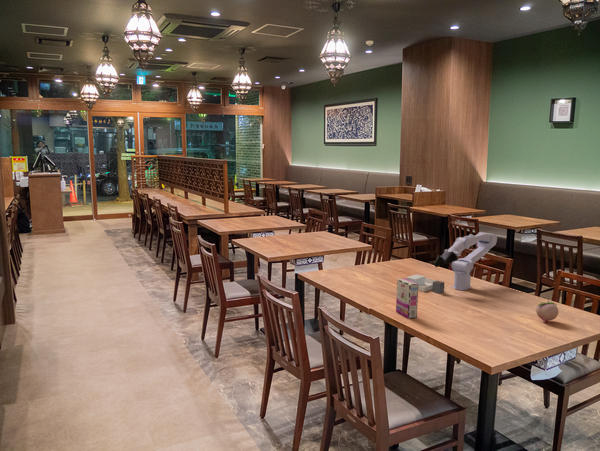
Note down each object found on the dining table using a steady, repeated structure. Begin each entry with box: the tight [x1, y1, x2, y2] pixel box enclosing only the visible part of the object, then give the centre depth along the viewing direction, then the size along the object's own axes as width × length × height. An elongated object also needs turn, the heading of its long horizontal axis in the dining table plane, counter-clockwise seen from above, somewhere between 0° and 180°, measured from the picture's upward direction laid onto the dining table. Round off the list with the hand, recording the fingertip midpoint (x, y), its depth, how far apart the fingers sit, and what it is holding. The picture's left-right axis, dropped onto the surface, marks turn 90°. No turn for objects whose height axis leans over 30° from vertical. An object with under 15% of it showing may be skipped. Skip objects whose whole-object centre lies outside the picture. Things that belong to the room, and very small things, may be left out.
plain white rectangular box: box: [405, 274, 426, 286], centre depth 276 cm, size 10×6×5 cm, turn 133°
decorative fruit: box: [535, 300, 559, 323], centre depth 218 cm, size 9×8×10 cm
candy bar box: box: [395, 278, 419, 320], centre depth 226 cm, size 11×5×16 cm, turn 21°
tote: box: [418, 277, 443, 293], centre depth 274 cm, size 18×16×3 cm
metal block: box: [431, 280, 445, 295], centre depth 262 cm, size 4×4×6 cm
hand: (440, 264), depth 256 cm, fingers open, 7 cm apart
